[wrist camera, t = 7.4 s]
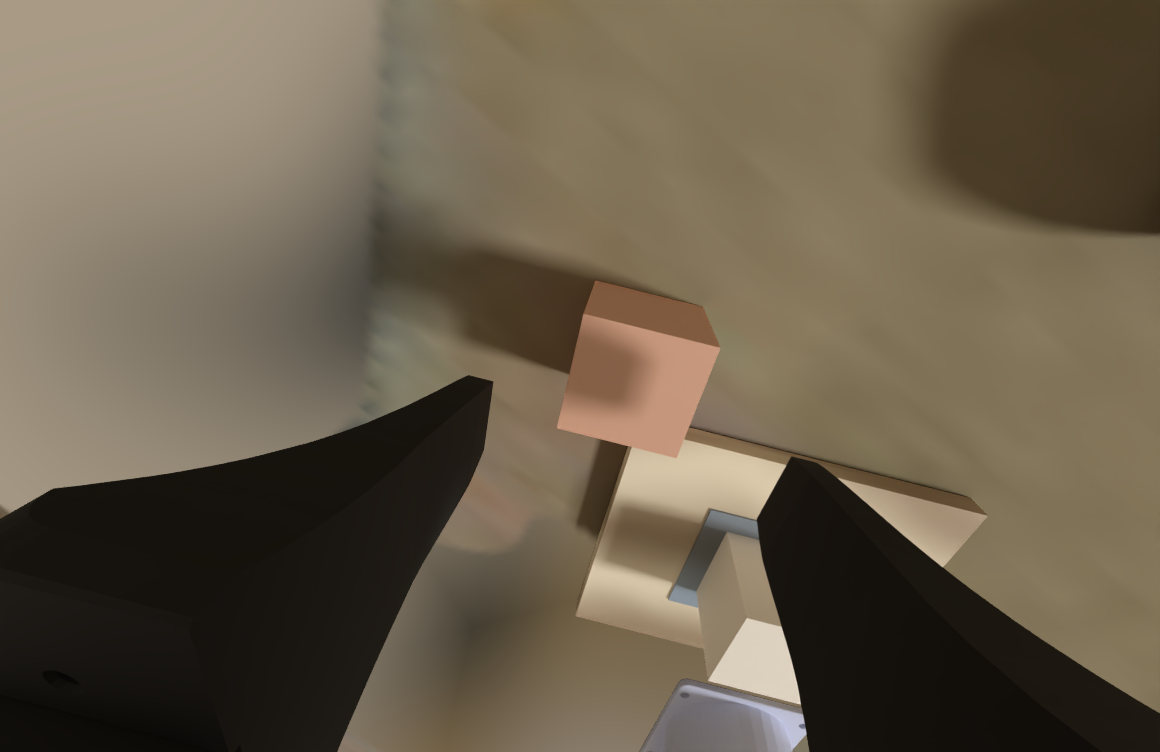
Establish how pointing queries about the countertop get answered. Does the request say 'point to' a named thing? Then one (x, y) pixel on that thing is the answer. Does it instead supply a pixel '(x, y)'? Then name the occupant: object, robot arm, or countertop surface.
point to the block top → (638, 369)
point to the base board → (724, 526)
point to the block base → (743, 623)
